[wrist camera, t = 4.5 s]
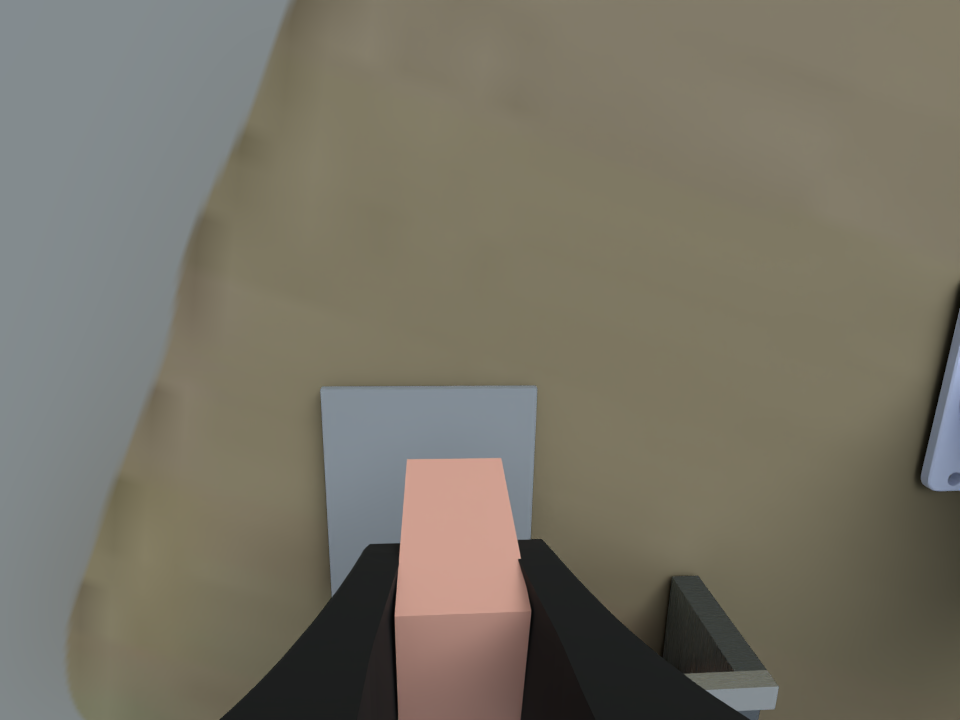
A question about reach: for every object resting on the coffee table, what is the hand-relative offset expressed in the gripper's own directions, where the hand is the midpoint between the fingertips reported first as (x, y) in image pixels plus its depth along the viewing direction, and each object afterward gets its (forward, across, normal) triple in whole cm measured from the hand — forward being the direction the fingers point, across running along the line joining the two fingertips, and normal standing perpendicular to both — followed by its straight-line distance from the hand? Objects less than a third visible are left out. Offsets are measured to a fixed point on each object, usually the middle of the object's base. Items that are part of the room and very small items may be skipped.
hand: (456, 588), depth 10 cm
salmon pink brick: (+3, 0, +2) cm, 3 cm away
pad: (+9, 0, +3) cm, 9 cm away
